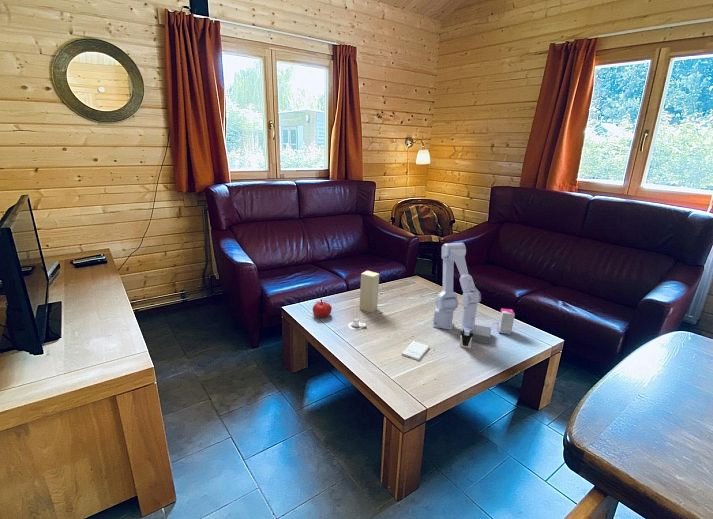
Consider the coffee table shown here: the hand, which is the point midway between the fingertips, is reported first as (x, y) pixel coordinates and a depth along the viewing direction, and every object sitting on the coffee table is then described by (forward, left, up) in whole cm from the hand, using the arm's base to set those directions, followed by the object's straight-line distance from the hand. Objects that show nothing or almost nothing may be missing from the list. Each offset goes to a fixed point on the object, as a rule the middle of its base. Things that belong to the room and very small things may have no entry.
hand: (465, 342), depth 177 cm
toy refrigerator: (-53, +21, -2) cm, 57 cm away
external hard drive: (-21, -14, -2) cm, 25 cm away
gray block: (+6, +10, -2) cm, 12 cm away
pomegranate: (-74, +4, -2) cm, 74 cm away
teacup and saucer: (-52, -3, -2) cm, 52 cm away
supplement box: (+18, +20, -2) cm, 27 cm away
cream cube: (0, 0, -2) cm, 2 cm away
